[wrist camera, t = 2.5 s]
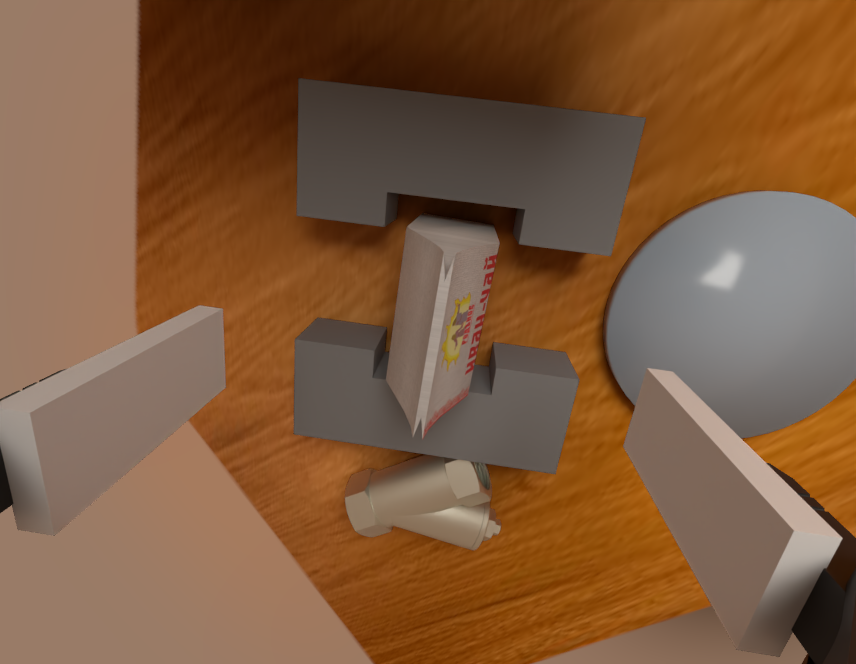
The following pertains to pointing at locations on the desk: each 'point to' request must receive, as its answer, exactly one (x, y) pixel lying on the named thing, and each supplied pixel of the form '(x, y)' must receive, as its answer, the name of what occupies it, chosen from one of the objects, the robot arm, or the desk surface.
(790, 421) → the blue-grey round plate
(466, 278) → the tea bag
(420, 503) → the pipe fitting
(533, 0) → the desk surface
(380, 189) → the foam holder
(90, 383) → the robot arm
